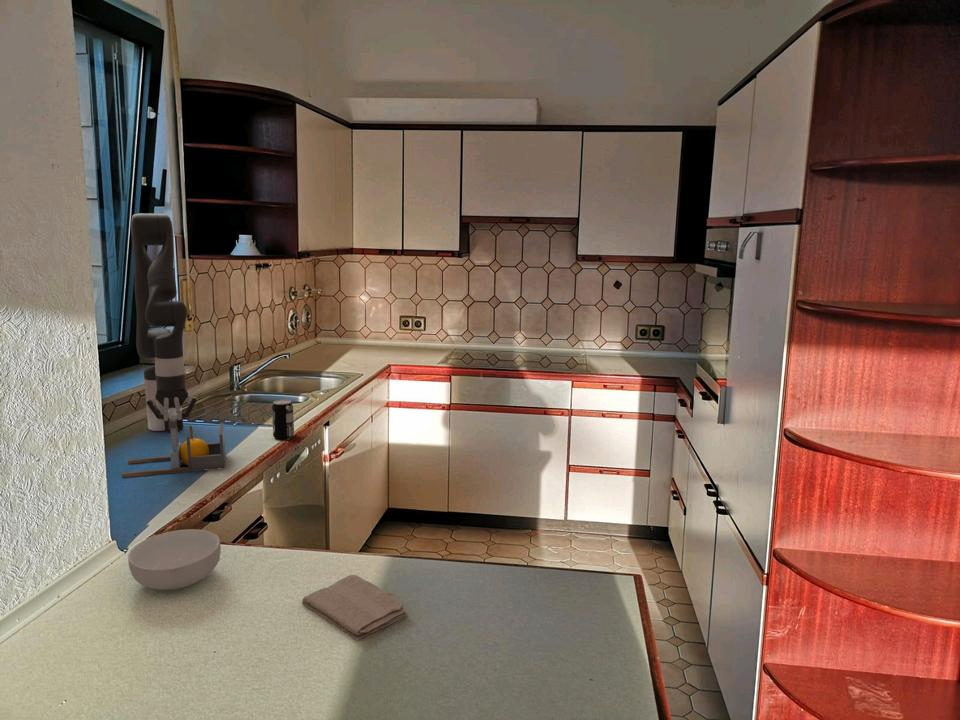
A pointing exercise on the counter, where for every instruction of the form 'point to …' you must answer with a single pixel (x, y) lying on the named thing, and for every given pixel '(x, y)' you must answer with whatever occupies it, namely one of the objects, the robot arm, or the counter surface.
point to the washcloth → (356, 607)
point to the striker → (174, 443)
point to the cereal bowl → (174, 559)
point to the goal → (215, 454)
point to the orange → (194, 449)
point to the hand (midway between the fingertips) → (174, 431)
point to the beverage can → (283, 419)
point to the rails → (153, 472)
